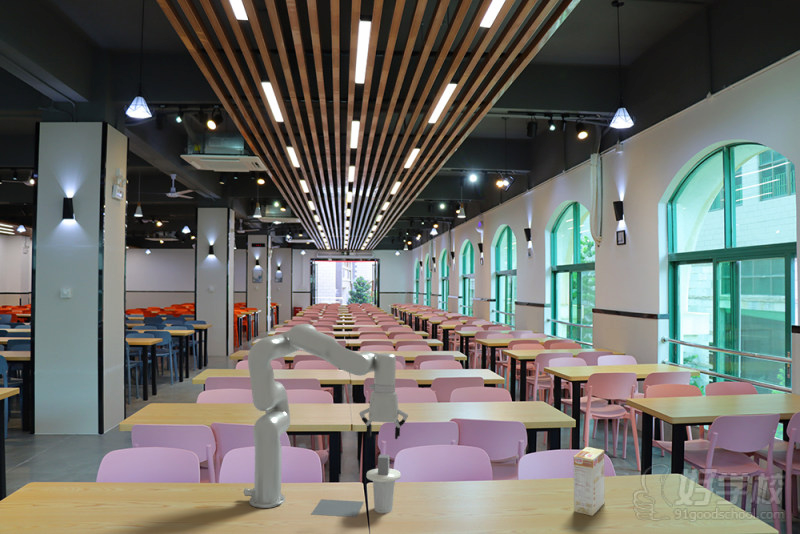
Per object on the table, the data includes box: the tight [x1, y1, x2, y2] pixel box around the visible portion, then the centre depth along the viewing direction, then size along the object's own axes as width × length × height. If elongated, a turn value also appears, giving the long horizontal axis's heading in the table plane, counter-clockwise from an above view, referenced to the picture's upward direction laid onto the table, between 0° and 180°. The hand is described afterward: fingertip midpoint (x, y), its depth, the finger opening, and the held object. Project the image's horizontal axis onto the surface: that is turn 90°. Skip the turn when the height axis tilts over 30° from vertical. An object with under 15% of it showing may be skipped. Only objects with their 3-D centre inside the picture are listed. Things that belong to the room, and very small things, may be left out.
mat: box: [310, 498, 365, 518], centre depth 202 cm, size 16×14×1 cm
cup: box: [372, 481, 396, 514], centre depth 201 cm, size 8×8×12 cm
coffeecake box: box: [573, 446, 606, 517], centre depth 206 cm, size 15×7×20 cm, turn 145°
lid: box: [366, 454, 401, 482], centre depth 201 cm, size 12×12×7 cm
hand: (383, 437), depth 202 cm, fingers open, 9 cm apart
